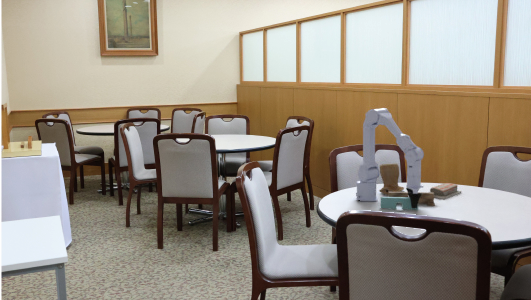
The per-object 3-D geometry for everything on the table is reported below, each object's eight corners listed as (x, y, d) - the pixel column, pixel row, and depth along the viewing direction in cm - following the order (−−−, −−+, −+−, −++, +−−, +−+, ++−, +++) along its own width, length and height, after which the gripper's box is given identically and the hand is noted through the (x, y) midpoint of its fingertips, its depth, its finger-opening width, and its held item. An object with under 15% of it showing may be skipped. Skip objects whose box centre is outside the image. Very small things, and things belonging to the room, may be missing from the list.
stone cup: (384, 188, 247) (384, 160, 245) (406, 190, 240) (407, 162, 238) (373, 194, 235) (373, 164, 233) (396, 197, 228) (396, 166, 226)
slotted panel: (380, 208, 209) (380, 197, 208) (380, 207, 211) (380, 196, 210) (418, 209, 206) (418, 198, 205) (417, 208, 208) (417, 197, 207)
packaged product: (442, 181, 241) (461, 184, 233) (442, 190, 241) (461, 193, 234) (424, 187, 229) (444, 190, 221) (424, 196, 229) (443, 200, 222)
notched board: (388, 204, 215) (389, 194, 214) (387, 200, 223) (388, 190, 222) (434, 205, 211) (435, 195, 210) (432, 201, 219) (432, 190, 218)
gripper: (425, 179, 197) (425, 210, 199) (421, 172, 211) (420, 201, 213) (408, 178, 199) (407, 210, 201) (405, 172, 213) (404, 201, 215)
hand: (413, 205), depth 207 cm, fingers open, 7 cm apart
